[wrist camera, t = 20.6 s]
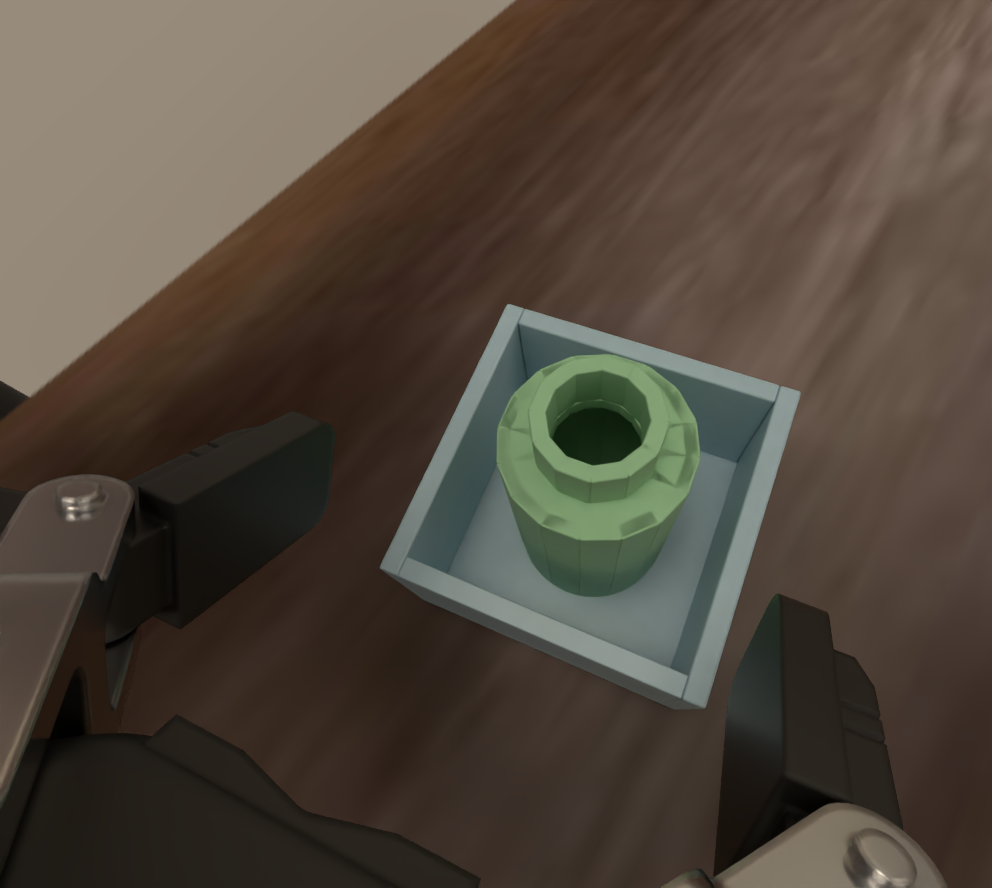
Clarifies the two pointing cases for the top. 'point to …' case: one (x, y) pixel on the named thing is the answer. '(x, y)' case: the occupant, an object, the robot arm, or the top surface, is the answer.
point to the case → (681, 562)
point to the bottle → (596, 469)
